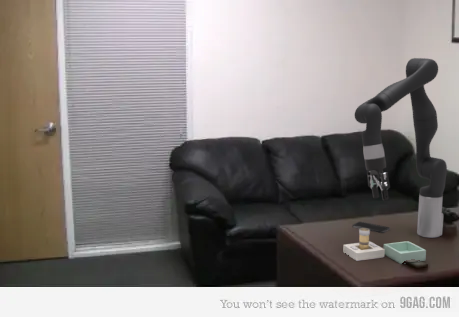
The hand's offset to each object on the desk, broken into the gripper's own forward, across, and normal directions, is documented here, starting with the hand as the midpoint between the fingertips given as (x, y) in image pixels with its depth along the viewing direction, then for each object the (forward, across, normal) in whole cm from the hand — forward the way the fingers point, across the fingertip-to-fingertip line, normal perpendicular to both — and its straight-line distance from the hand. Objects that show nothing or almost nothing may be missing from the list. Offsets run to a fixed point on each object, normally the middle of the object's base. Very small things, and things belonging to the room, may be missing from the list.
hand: (380, 199), depth 215 cm
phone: (+18, +35, -8) cm, 40 cm away
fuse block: (+21, +4, +9) cm, 23 cm away
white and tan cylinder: (+21, +4, +9) cm, 23 cm away
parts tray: (+23, -1, -5) cm, 24 cm away
